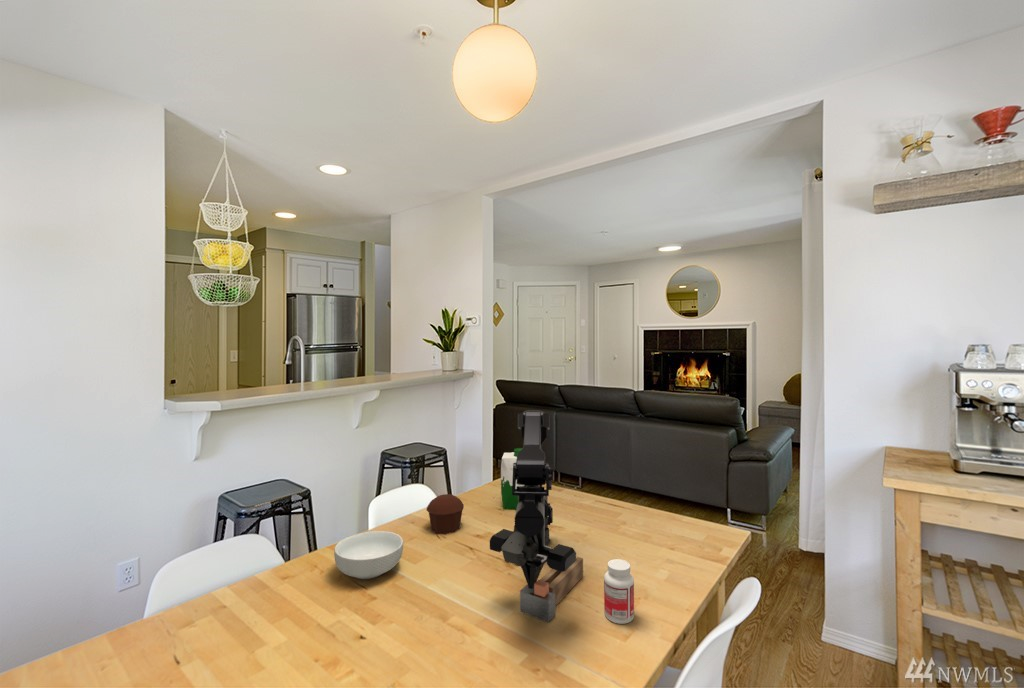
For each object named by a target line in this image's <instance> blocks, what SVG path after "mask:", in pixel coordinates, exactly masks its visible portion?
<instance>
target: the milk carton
mask: <svg viewBox="0 0 1024 688" xmlns="http://www.w3.org/2000/svg"><path fill="white" fill-rule="evenodd" d="M521 449H523V447H517V448H514V450H513V451H512V452H503V455H502V457H501V465H500V495H501V502H502V509H503V510H508V511H509V510H515V511H516V509H517V505H518V495H512V480H513V463H516V460H517V453H518V452H519V451H520V450H521ZM517 486H524V485H519V484H517V480H516V487H515V489H517Z"/></svg>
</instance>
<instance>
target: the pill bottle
mask: <svg viewBox="0 0 1024 688" xmlns="http://www.w3.org/2000/svg"><path fill="white" fill-rule="evenodd" d="M603 599H604V601H603V605H604V607H603V608H604V609H603V610H604V615H605V617H606V618H607V620H609V621H610V622H612V623H615V624H619V625H620V624H622V625H623V624H624V625H625V624H628V623H630V622H632V621H633V620H634V618H635V580H634V577H633V575H632V574H631V564H630V563H629V562H628V561H627V560H625V559H621V558H615V559H611V560H609V561H608V562H607V571H606V572H605V573H604V576H603Z"/></svg>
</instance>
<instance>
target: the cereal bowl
mask: <svg viewBox="0 0 1024 688" xmlns="http://www.w3.org/2000/svg"><path fill="white" fill-rule="evenodd" d="M403 550H404V539H403V538H402V537H401V535H399V534H397V533H395V532H392V531H387V530H374V531H373V530H371V531H365V532H360V533H356V534H353V535H351V536H348V537H345V538H343V539H342V540H339V542H337V544H336V545H335V547H334V551H333V553H334V555H333V557H334V562H335V565H336V568H337V570H339V571H340V572H341V573H342V574H345V575H346V576H349V577H352V578H353V577H354V578H357V579H360V580H369V579H374V578H378V577H379V576H381V575H382V574H384V573H387V572H388V571H391V569H393V568H394V567H395V566H396V565H397V564H398V563H399V562H400V560H401V558H402V556H403Z"/></svg>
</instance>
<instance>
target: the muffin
mask: <svg viewBox="0 0 1024 688" xmlns="http://www.w3.org/2000/svg"><path fill="white" fill-rule="evenodd" d="M464 507H465V506H464V503H463V501H462V500H461V499H460V498H459V497H458V496H456V495H454V494H450V493H449V494H448V493H445V494H440V495H437V496H436V497H434V498H433V499H431V501H430V502H429V503H428V505H427V506H426V511H427V512H428V517H429V522H430V528H431V532H433V533H435V534H436V535H437V534H438V535H449V534H454V533H456V532H457V531H458V530H460V529H461V523H462V522H461V521H462V515H463V510H464V509H465V508H464Z"/></svg>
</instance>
